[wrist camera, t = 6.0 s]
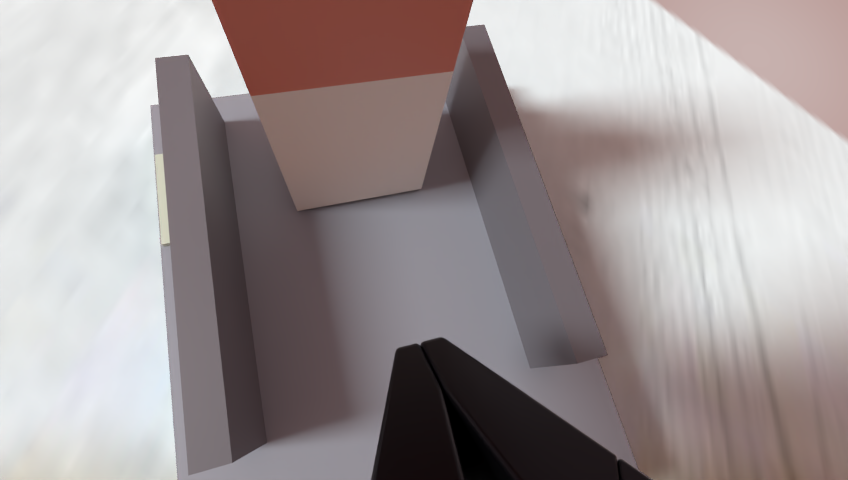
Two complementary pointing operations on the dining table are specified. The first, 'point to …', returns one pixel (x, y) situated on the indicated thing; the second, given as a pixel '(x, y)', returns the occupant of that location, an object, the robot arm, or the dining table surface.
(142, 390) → the dining table surface
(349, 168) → the block
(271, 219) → the grey walled base plate
